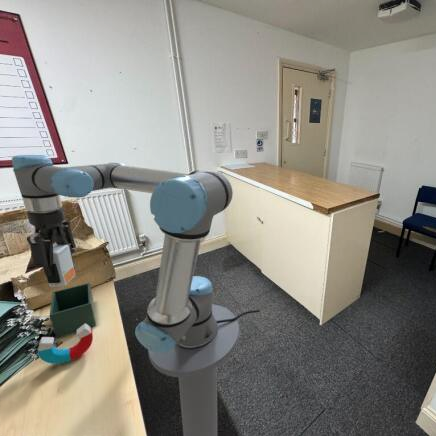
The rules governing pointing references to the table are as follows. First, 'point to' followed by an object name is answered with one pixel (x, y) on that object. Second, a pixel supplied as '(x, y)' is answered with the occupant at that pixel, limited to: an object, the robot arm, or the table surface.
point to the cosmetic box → (63, 264)
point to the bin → (72, 309)
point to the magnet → (64, 355)
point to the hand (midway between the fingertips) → (62, 276)
